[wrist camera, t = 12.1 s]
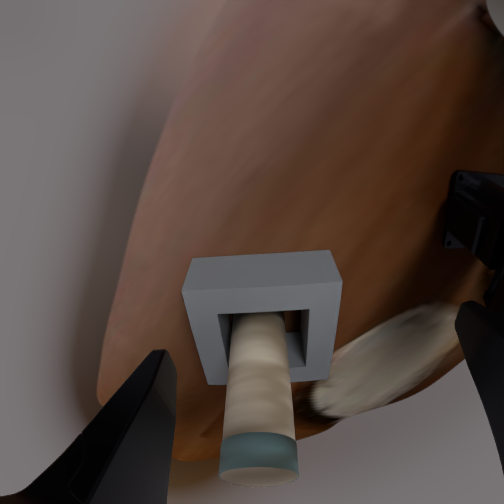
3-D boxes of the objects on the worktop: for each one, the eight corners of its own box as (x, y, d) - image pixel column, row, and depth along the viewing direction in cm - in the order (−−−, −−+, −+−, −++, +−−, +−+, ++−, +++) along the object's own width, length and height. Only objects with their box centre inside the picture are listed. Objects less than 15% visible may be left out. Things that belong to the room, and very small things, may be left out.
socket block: (329, 249, 22) (342, 281, 18) (321, 344, 26) (328, 378, 23) (192, 258, 22) (181, 290, 18) (213, 350, 27) (208, 384, 23)
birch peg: (294, 307, 24) (315, 474, 12) (260, 335, 26) (261, 490, 14) (256, 280, 23) (254, 461, 11) (223, 311, 24) (203, 476, 12)
